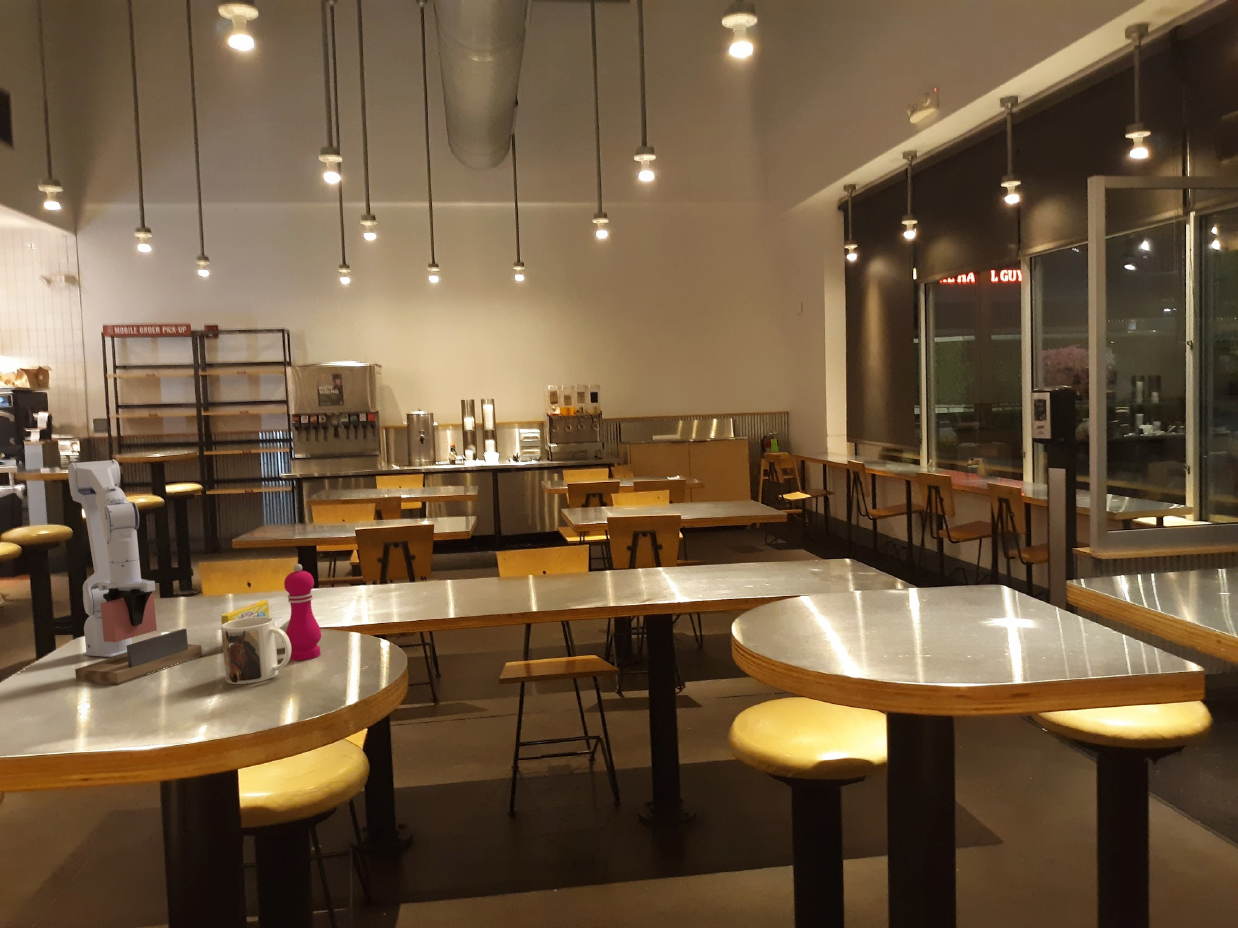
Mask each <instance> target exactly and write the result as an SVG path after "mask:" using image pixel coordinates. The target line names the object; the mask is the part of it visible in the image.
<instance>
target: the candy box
mask: <svg viewBox="0 0 1238 928" xmlns="http://www.w3.org/2000/svg"><path fill="white" fill-rule="evenodd" d="M269 609H270V608H269V600H260V601H257V602H254V603H251V604H248V605H246V606H243V607H241V608H238V609H237V608H236V609H235V610H232V611H230V612H227V613H224V614H221V615H220V616H221V618H220V619H221V626H222V625H223V624H224V623H227V622H230V621H233V620H237V619H243V618H250V617H270V610H269Z"/></svg>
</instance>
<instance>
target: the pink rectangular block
mask: <svg viewBox="0 0 1238 928" xmlns="http://www.w3.org/2000/svg"><path fill="white" fill-rule="evenodd" d="M154 596H155V595H154V593H151V595H150V597H149V599H148V601H147V603H146V606H145V610H144V615H143V621H142V624H139V625H135V626H132V625H131V622H130V617H129V611H128V608H127V605H126V602H125V600H124V599H123V598H120V599H116V600H112V601H108V602H104V603H100V606H101V616H102V627H103V637H104V641H105V642H118V641H122V640H125V639H129V638H131V639H132V638H135V637H138V636H141V635H145V634H149V633H153V632H155V631H158V629H157V628H158V626H157V618H156V607H155V597H154Z"/></svg>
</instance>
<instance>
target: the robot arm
mask: <svg viewBox="0 0 1238 928" xmlns="http://www.w3.org/2000/svg"><path fill="white" fill-rule="evenodd" d="M67 467H68V468H67V476H68V477H67V478H68V484H69V490H70V491H69V492H70V496H71V497H72V501H74V502H76V503H79V504H81V506H82V508H83V509H82V510H83V511H84V514H85V521H86V527H87V532H88V539H89V547H90V552H91V558H92V564H93V571H94V573H93V574H92V575H89V576H88V578H87V579H86V580H85V581H84V583H83V584H82V601H83V608H84V611H85V614H87V615H88V617H87V618H86V620H85V623H84V626H83V632H84V642H85V644H84V645H85V652H82V655H83V656H92V657H104V658H113V657H116V656H120V655H123V654H126V653H127V646H126V645H130V644H133V641H132V638H129V639H125V640H122V641H118V642H105V641H104V637H103V627H102V616H101V606H100V603H104V602H108V601H112V600H116V599H120V598H123V599H124V600H125V602H126V605H127V608H128V611H129V617H130V622H131V625H132V626H135V625H139V624H142V621H143V615H144V610H145V606H146V603H147V601H148V599H149V597H150V595H151V594H152V592H154V591H156V583H155V582H156V581H155V580H149V579H144V578H142V575H141V566H140V565H141V564H140V554H139V543H138V532H137V531H138V529H139V527H140V514H139V509H138V506H137V504H136V502H135V501H129V500H128V498H127V496H126V494H125V492H124V491H123V490H122V488H120V483H121V470H120V469H121V468H120V465H119V462H118V461H117V460H116V459H111V460H97V461H96V460H95V461H83V462H75V461H74V462H70V463H69V464H68V466H67Z"/></svg>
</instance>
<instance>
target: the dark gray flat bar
mask: <svg viewBox="0 0 1238 928" xmlns="http://www.w3.org/2000/svg"><path fill="white" fill-rule="evenodd" d="M188 644H189V642H188V634H187V628H181V629H177V630H173V631H170V632H167V633H164V634H161V635H157V636H154V637H150V638H148V639H147V638H146V639H144V640H141V641H137V642H134V643H133V642H132V644H130V645H126V646H127V657H128V667H130V668H133V667H136V666H139V665H142V664H145V663H148V662H151V661H154V660H157V659H160V658H163V657H166V656H169V655H172V654H176V653H179V652H182V651H185V650H188Z"/></svg>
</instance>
